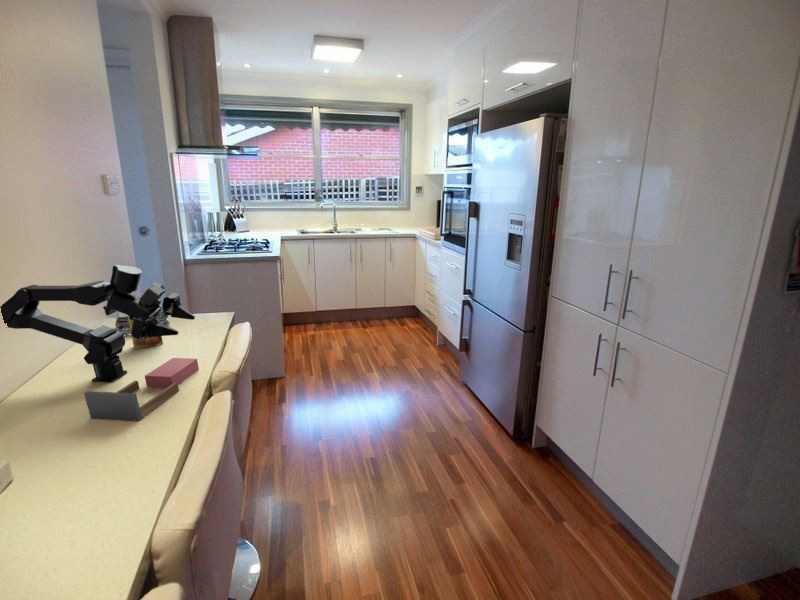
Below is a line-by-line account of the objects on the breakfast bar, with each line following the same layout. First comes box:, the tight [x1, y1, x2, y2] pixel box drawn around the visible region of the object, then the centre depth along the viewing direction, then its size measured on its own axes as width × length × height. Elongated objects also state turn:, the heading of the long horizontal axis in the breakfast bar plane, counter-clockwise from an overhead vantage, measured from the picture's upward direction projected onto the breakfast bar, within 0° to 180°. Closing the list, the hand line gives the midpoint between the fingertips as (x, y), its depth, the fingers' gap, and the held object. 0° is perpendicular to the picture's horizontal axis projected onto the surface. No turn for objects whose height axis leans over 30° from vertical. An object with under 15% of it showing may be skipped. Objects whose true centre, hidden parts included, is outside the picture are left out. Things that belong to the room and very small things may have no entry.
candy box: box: [127, 315, 164, 350], centre depth 143 cm, size 9×4×15 cm, turn 123°
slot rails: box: [115, 380, 180, 420], centre depth 106 cm, size 13×14×2 cm
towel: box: [115, 304, 171, 337], centre depth 163 cm, size 15×18×8 cm
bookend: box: [83, 390, 143, 422], centre depth 98 cm, size 13×1×7 cm, turn 83°
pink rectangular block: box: [144, 357, 200, 389], centre depth 119 cm, size 8×12×4 cm, turn 172°
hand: (186, 325), depth 117 cm, fingers open, 9 cm apart
